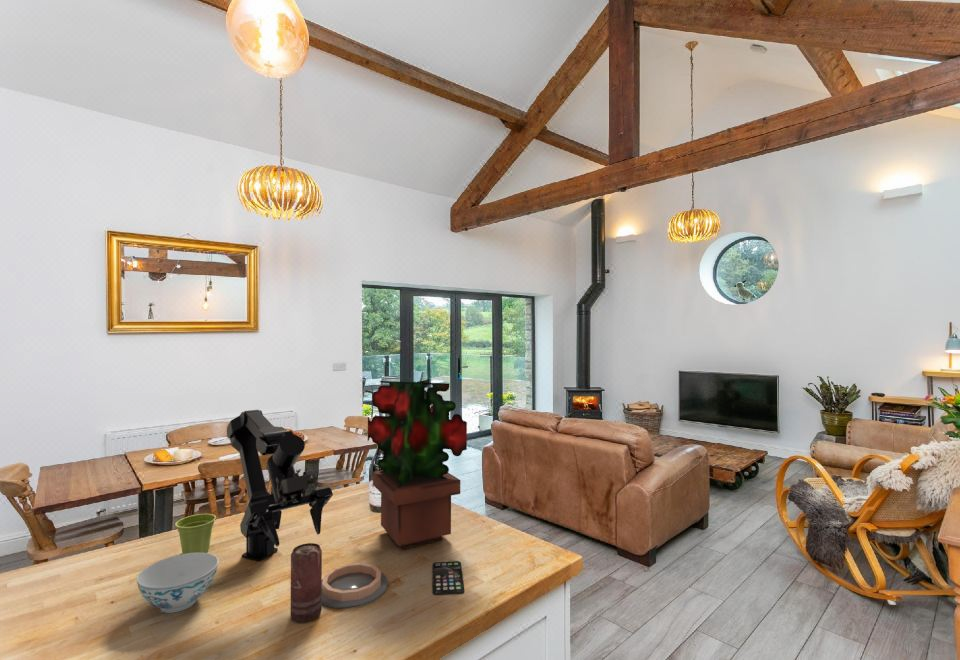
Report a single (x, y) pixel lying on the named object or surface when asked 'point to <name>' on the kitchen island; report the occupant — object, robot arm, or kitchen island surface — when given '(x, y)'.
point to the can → (306, 582)
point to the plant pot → (195, 532)
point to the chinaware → (177, 580)
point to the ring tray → (352, 585)
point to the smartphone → (447, 578)
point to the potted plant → (416, 459)
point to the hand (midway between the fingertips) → (299, 539)
